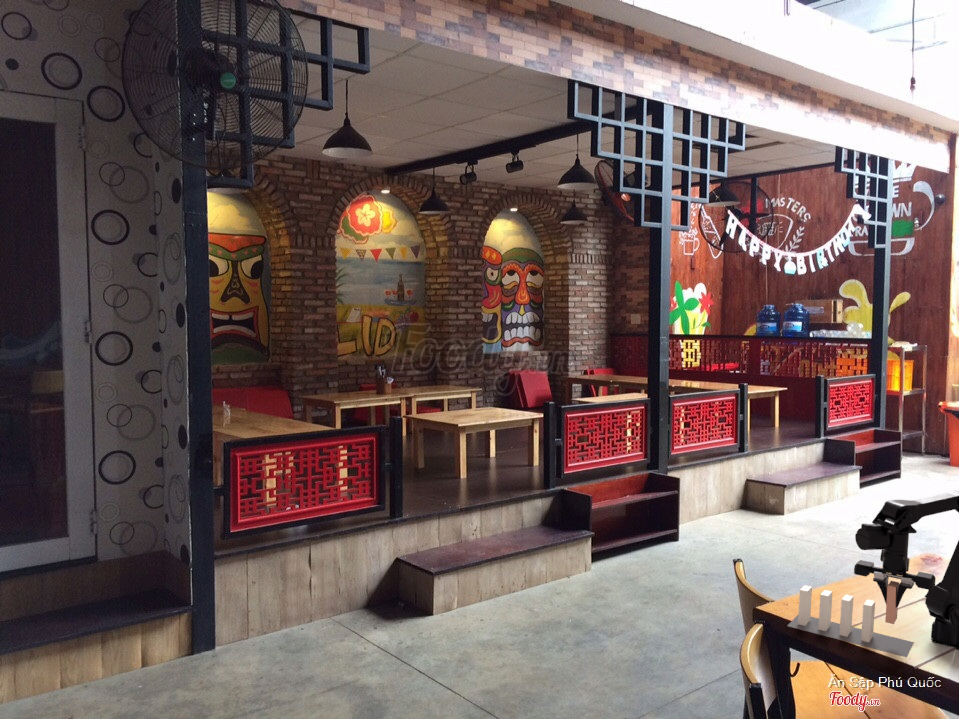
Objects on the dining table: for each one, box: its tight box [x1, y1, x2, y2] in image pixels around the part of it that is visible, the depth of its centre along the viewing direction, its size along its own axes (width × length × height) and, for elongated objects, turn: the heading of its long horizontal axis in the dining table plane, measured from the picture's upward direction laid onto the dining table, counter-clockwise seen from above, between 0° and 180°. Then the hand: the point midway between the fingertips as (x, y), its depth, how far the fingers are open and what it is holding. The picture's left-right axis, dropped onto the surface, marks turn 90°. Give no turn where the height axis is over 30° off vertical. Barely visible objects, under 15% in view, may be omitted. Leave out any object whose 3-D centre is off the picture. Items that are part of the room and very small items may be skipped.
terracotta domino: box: [884, 580, 900, 625], centre depth 209 cm, size 2×5×10 cm, turn 143°
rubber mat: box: [787, 613, 915, 658], centre depth 216 cm, size 30×12×1 cm, turn 53°
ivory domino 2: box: [818, 589, 833, 631], centre depth 220 cm, size 2×5×10 cm, turn 143°
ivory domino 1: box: [797, 584, 813, 626], centre depth 223 cm, size 2×5×10 cm, turn 143°
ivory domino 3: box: [839, 594, 855, 637], centre depth 216 cm, size 2×5×10 cm, turn 143°
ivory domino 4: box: [861, 599, 876, 642], centre depth 213 cm, size 2×5×10 cm, turn 143°
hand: (892, 605), depth 209 cm, fingers closed on terracotta domino, 2 cm apart
